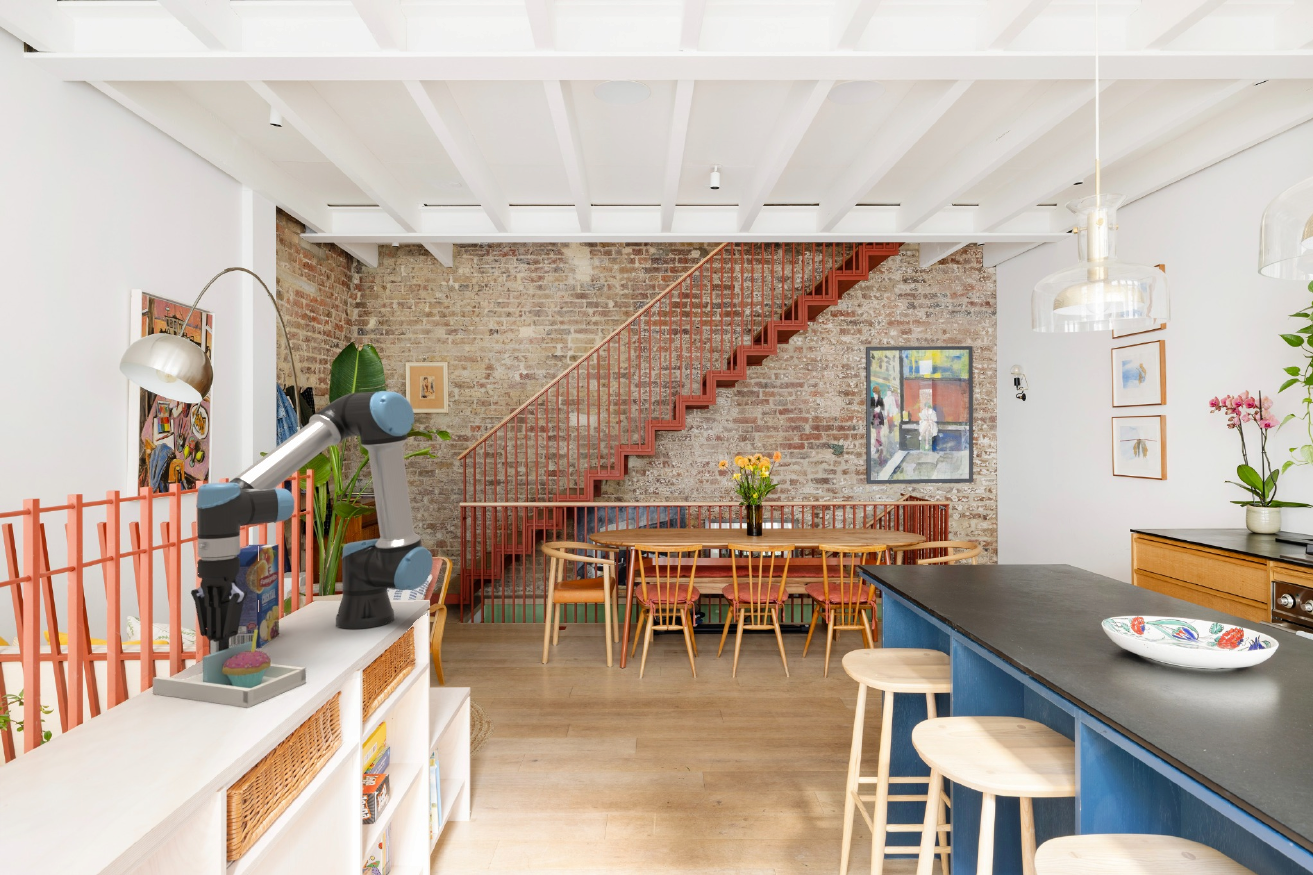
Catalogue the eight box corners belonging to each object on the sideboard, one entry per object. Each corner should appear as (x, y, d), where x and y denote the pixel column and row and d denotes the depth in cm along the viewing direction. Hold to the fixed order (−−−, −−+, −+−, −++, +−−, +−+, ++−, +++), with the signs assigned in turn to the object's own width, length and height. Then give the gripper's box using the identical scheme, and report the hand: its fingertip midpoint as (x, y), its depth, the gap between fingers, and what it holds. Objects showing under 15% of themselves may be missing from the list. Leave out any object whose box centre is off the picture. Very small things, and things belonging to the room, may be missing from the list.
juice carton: (258, 648, 169) (258, 551, 170) (226, 649, 169) (225, 552, 169) (279, 634, 181) (278, 544, 181) (249, 636, 180) (248, 544, 181)
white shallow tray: (216, 671, 152) (215, 657, 152) (305, 682, 145) (305, 667, 145) (152, 693, 139) (152, 678, 139) (248, 707, 131) (247, 690, 131)
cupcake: (257, 676, 146) (257, 620, 146) (279, 684, 142) (279, 626, 142) (214, 689, 139) (213, 630, 139) (236, 697, 135) (235, 636, 135)
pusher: (236, 672, 149) (236, 639, 149) (254, 675, 147) (254, 641, 147) (188, 690, 138) (188, 654, 138) (207, 693, 137) (207, 657, 137)
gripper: (178, 558, 141) (178, 673, 141) (226, 561, 137) (226, 679, 137) (212, 552, 149) (212, 661, 148) (258, 555, 145) (258, 667, 144)
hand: (219, 670), depth 143 cm, fingers closed
